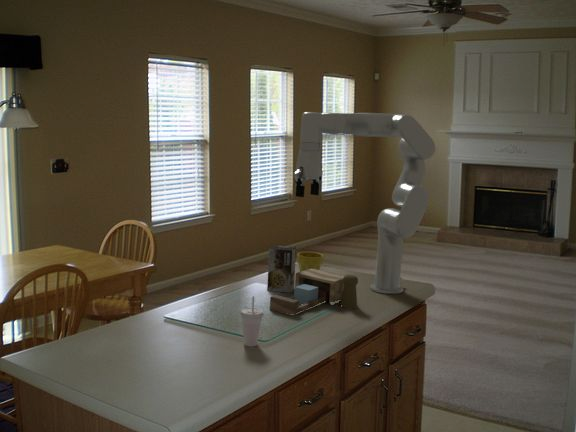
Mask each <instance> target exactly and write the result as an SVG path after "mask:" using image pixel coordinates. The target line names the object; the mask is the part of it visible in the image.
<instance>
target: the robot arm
mask: <svg viewBox="0 0 576 432" xmlns="http://www.w3.org/2000/svg"><path fill="white" fill-rule="evenodd" d="M300 121H301V123H300V139H299V140H300V141H299V151H298V153H297V158H296V163H295V164H296V165H295V172H294V173H293V176H294V182H295V183H294V184H295V197H297V198H304V197H305V190H306V189H305V186H306V185H305V183H306V181H311V183H310V191H309V192H310V195H312V196H319V195H320V192H319V191H320V184H321V180H322V177H323V171H322V169H321V168H322V167H321V166H322V162H321V161H322V160H321V157H322V156H321V153H322V140H323V134H324V135H325V134H327V135H328V134H329V135H340V134H342V135H353V136H358V137H374V138H375V137H377V138H378V137H379V138H381V137H384V138H385V137H386V138H400V140H399V142H398V150H399V152H400V155H401V157H402V161H403V168H402V171H401V174H400V175H399V178H398V180H397V183H396V185H395V186H394V188H393V192H392V194H391V200H392V202H393V204H394V205H395V206H398V207H400V209H397V208H392V207H391V208H389V207H388V208H385V209H383V210H381V212H380V213H379V214H378V216H377V222H376V223H377V226H376V227H377V249H376V250H377V251H376V260H375V261H376V263H375V271H374V272H375V273H374V283H371V284H370V288H369V289H370V290H371V291H373V292H375V293H376V292H377V293H380V294H387V295H397V294H401V293H403V292H404V287H402V286H400V284H401V282H403V277H402V276H401V271H402V260H403V259H402V258H403V250H404V240H403V239H408V238H411V237H412V236H413V235H414V234H415V233H416V231H417V230H418V227H419V225H420V223H421V222H422V219H423V216H424V215H425V213H426V211H427V209H428V205H429V200H430V196H429V191H428V190H427V189H426V187H424V186H422V183H423V180H424V179H425V177H426V176H425V175H426V161H425V160H429V159H431V158H432V157H433V156H434V154H435V152H436V145H435V141H434V140H433V138H432V137H431V136H430V134H429V133H428V132H427V130H425V129H424V127H423V126H422V125H421V124H420V123H419V121H417V119H416V118H414V117H413V116H412V115H410V114H406V113H403V114H402V113H382V112H381V113H380V112H377V113H376V112H355V113H354V112H353V113H349V112H347V113H346V112H345V113H343V112H314V111H305V112H303V113H302V114H301V119H300Z"/></svg>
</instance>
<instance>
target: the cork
mask: <svg viewBox="0 0 576 432" xmlns="http://www.w3.org/2000/svg"><path fill="white" fill-rule="evenodd" d="M343 283H344V288H343V293H342V297H341V302H340V303H341V305H342V307H341V308H343V309H347V310H354V309H357V308H358V299H357V298H358V296H357V294H358V293H357V285H358V283H359V279H358V276H357V275H353V274H346V275H345V276H344V278H343ZM340 303H339V304H340Z"/></svg>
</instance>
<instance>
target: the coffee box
mask: <svg viewBox="0 0 576 432" xmlns="http://www.w3.org/2000/svg"><path fill="white" fill-rule="evenodd" d="M296 259H297V246H296V247H295V246H288V245H287V246H286V245H277V244H276V245H275V244H273V245H272V246H270V247H269V248H268V264H267V265H268V266H267V269H268V270H267V286H266V290H267V291H271V292H280V293H288V294H290V293H291V292H293V291H294V289H295V279H296V261H297V260H296Z"/></svg>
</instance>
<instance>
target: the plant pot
mask: <svg viewBox="0 0 576 432" xmlns="http://www.w3.org/2000/svg"><path fill="white" fill-rule="evenodd" d="M296 259H297V260H296V262H297V263H298V268H299V272H301V271H305V270H308V269H316V270H320V269H321V266H322V265H323V263H324V254H321V253H319V252H314V251H301V252H298V253H297V254H296Z"/></svg>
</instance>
